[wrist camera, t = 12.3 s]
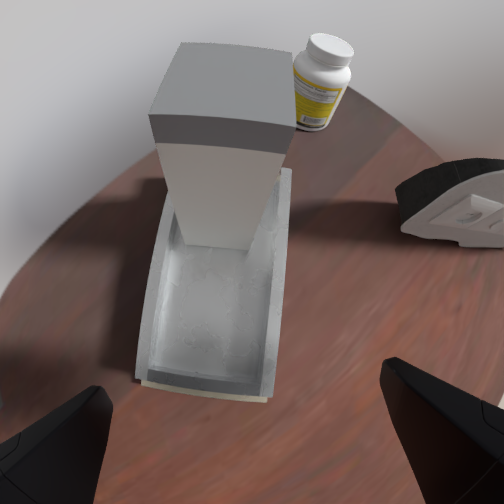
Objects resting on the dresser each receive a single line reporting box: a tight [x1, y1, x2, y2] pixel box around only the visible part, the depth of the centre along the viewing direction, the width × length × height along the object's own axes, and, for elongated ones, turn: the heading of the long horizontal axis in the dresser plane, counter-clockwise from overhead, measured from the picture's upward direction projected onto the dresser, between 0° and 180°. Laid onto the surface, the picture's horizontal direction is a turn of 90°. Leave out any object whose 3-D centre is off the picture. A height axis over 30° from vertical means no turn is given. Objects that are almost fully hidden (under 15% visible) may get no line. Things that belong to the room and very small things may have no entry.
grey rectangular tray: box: [135, 167, 292, 403], centre depth 19 cm, size 18×9×4 cm, turn 174°
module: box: [148, 43, 297, 250], centre depth 15 cm, size 5×5×13 cm
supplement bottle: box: [293, 33, 354, 131], centre depth 22 cm, size 5×5×10 cm
